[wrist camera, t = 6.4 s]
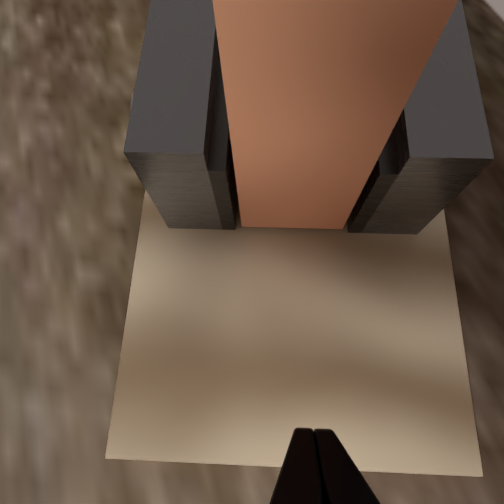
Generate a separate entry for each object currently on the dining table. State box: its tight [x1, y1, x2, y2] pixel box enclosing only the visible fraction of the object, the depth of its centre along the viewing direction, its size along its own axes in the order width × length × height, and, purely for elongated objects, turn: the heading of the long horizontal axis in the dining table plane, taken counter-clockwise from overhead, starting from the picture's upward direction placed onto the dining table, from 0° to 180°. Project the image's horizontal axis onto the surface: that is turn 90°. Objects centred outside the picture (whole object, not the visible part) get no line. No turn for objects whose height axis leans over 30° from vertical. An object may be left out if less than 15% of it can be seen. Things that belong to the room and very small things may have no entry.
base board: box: [105, 190, 483, 477], centre depth 17 cm, size 19×14×1 cm
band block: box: [124, 0, 494, 235], centre depth 16 cm, size 8×13×6 cm, turn 88°
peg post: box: [213, 0, 458, 229], centre depth 12 cm, size 6×4×12 cm
